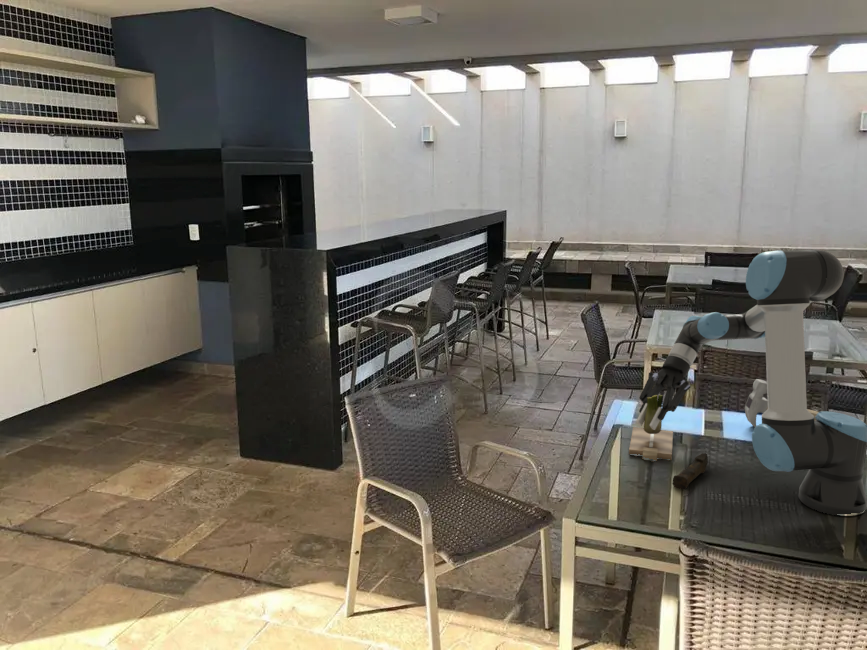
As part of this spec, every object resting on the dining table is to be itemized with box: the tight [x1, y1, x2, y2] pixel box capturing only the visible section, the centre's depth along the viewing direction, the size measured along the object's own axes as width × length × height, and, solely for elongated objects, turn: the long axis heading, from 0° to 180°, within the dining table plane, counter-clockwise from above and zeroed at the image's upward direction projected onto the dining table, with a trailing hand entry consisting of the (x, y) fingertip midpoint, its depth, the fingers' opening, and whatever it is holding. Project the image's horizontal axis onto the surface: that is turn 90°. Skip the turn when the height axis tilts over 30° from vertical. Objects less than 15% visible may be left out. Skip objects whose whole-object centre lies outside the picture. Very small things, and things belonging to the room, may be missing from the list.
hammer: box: [744, 378, 819, 428], centre depth 224 cm, size 16×5×30 cm
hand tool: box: [671, 452, 708, 491], centre depth 193 cm, size 19×4×5 cm, turn 136°
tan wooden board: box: [628, 426, 674, 462], centre depth 213 cm, size 22×12×3 cm, turn 161°
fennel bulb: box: [643, 394, 664, 434], centre depth 211 cm, size 6×5×12 cm
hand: (645, 425), depth 210 cm, fingers closed on fennel bulb, 4 cm apart
